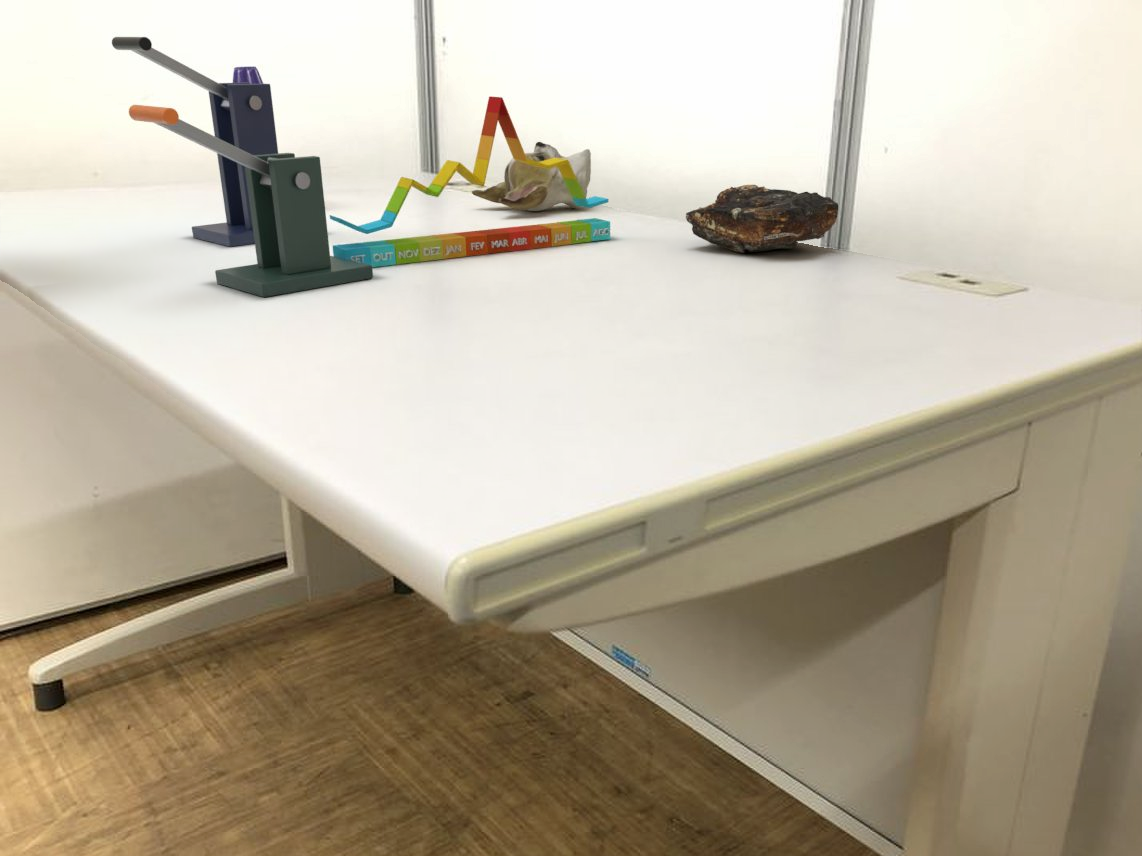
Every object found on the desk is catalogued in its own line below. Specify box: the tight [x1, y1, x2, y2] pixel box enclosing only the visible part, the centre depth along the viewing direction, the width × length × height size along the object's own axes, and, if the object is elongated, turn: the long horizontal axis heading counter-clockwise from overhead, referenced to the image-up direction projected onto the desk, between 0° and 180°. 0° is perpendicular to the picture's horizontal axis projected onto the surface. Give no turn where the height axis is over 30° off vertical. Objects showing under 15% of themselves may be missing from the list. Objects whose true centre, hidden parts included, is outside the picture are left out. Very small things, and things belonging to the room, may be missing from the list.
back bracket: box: [191, 82, 279, 248], centre depth 114 cm, size 11×8×16 cm
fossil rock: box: [685, 184, 839, 254], centre depth 112 cm, size 14×14×6 cm
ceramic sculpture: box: [471, 141, 592, 212], centre depth 135 cm, size 11×9×15 cm
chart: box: [329, 96, 611, 268], centre depth 106 cm, size 30×3×15 cm, turn 126°
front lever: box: [128, 104, 277, 189], centre depth 88 cm, size 14×6×2 cm, turn 138°
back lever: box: [111, 36, 230, 111], centre depth 107 cm, size 14×6×2 cm, turn 138°
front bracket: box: [214, 152, 374, 298], centre depth 93 cm, size 11×8×11 cm
